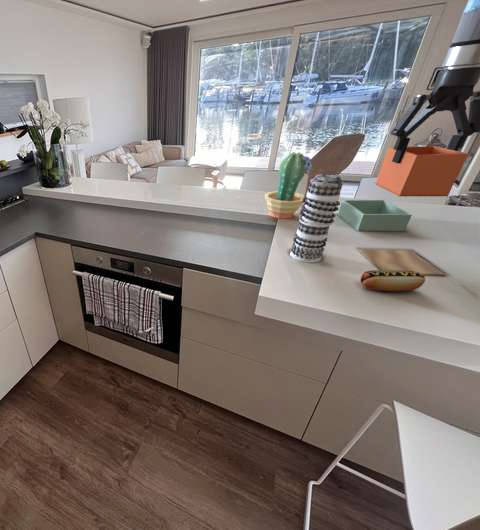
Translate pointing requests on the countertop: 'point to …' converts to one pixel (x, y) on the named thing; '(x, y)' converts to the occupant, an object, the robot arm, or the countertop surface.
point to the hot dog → (392, 280)
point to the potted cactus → (288, 186)
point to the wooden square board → (400, 261)
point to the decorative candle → (316, 217)
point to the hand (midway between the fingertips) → (420, 161)
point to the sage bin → (374, 215)
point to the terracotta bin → (421, 171)
